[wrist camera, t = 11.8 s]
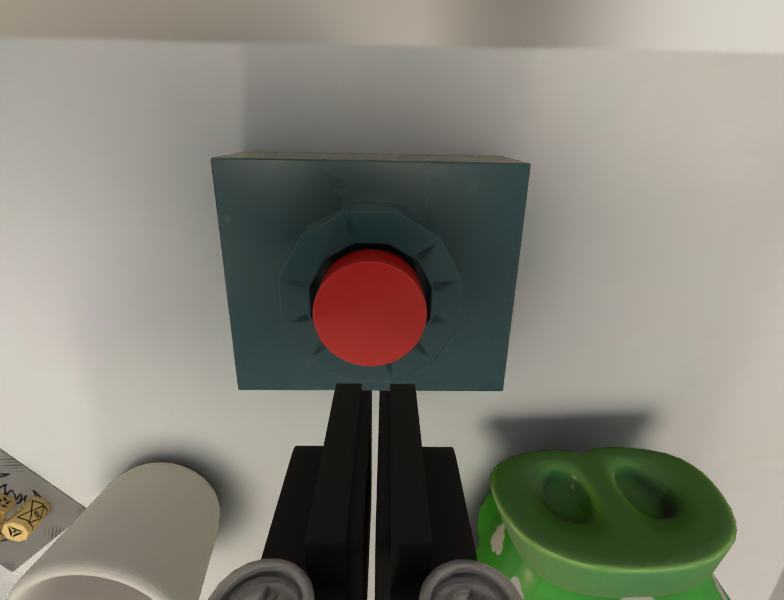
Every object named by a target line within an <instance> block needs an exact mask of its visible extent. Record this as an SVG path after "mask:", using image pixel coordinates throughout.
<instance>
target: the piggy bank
mask: <svg viewBox="0 0 784 600" xmlns="http://www.w3.org/2000/svg"><path fill="white" fill-rule="evenodd" d="M490 486H491V492H489V494H488V495H487V497H486V498H485V500H484V502H483V505H482V507H481V509H480V512H479V515H478V521H477V530H478V538H479V544H478V547H477V549H476V556H477V560H478V562H482V563H485V564H488V565H490V566H491V567H493V568H495V569H496V570H498V571H500V572H502V573H503V574H504V575H505V576H506V577H507V578H508V579H509V580H510V581H511V582H512V583H513V584H514V586H515V587H516V589H517V590H518V592H519V594H520V595H521V597H522V599H523V600H730V598H729V597H728V595H727V594H726V592H725V591H724V589H723V588H722V586H721V585H720V583H719V582H718V580H717V579H716V577H715V576H714V574H713V572H714V571H715V569H716V568H717V566H718V565H719V563H720V562H721V561H722V559H723V558H724V556H725V555H726V554H727V552H728V551H729V549H730V548H731V546H732V545H733V543H734V541H735V539H736V532H737V527H736V521H735V518H734V515H733V512H732V509H731V508H730V506H729V504H728V503H727V501H726V500H725V498H724V496H723V495H722V493H721V492H720V491H719V490H718V489H717V487H716V486H715V485H714V484H713V482H712V481H711V480H710V479H709V478H708V477H707V476H706V475H705V474H704V473H703V472H701V471H700V470H698V469H697V468H696V467H694V466H693V465H691V464H689V463H688V462H686V461H684V460H682V459H680V458H677V457H674V456H672V455H669V454H666V453H661V452H656V451H651V450H646V449H638V448H624V447H606V448H598V449H593V450H590V451H588V452H585V453H577V452H571V451H565V450H542V451H535V452H528V453H524V454H520V455H516V456H513V457H511V458H509V459H507V460H505V461H504V462H502V463H500V464H498V465H497V466H496V467H495V468H494V470H493V472H492V474H491V481H490Z"/></svg>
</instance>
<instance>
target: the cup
mask: <svg viewBox="0 0 784 600" xmlns="http://www.w3.org/2000/svg"><path fill="white" fill-rule="evenodd" d="M219 520H220V507H219V502H218V498H217V496H216V493H215V491H214V490H213V488H212V487H211V485H210V484H209V483H208V482H207V481H206V480H205V479H204V478H203V477H202V476H200V475H199V474H197V473H196V472H194V471H193V470H191V469H189V468H186V467H184V466H180V465H177V464H172V463H164V462H156V463H148V464H143V465H140V466H137V467H134V468H132V469H130V470H128V471H126V472H125V473H123V474H122V475H120V476H119V477H118V478H117V479H115V480H114V481H113V482H112V483H111V484H110V485H109V486H108V487H107V488H106V489H105V490H104V491H103V492H102V493H101V494H100V495H99V496H98V497H97V498H96V499H95V500H94V501H93V502H92V503H91V504H90V505H89V506H88V507H87V508H86V510H85V511H84V512H83V513H82V514H81V515H80V516H79V517H78V518H77V519H76V520H75V521H74V522H73V523H72V524H71V525H70V526H69V527H68V529H67V530H66V531H65V532H64V533H63V534H62V535H61V536H60V537H59V538H58V539H57V540H56V541H55V542H54V543H53V544H52V545H51V547H50V548H49V549H48V550H47V551H46V552H45V553H44V554H43V555H42V556H41V557H40V558H39V559H38V560H37V561H36V562H35V563H34V564H33V566H32V567H31V568H30V569H29V570H28V571H27V572H26V573H25V574H24V575H23V576H22V577H21V578H20V579H19V580H18V582H17V583H16V584H15V585H14V587H13V588H12V590H11V592H10V593H9V595H8V597H7V599H6V600H199V597H200V593H201V589H202V586H203V582H204V579H205V575H206V571H207V568H208V564H209V561H210V557H211V553H212V550H213V546H214V543H215V539H216V535H217V531H218V527H219Z"/></svg>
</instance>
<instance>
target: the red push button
mask: <svg viewBox="0 0 784 600" xmlns="http://www.w3.org/2000/svg"><path fill="white" fill-rule="evenodd" d="M426 320H427V307H426V302H425V298H424V293H423V289H422V286H421V283H420V280H419V278H418V276H417V274H416V272H415V271H414V269H413V268H412V267H411V266H410V265H409V264H408V263H407V262H406V261H405V260H403V259H402V258H401V257H399V256H397V255H395V254H393V253H391V252H388V251H385V250H380V249H361V250H356V251H353V252H350V253H348V254H346V255H344V256H342V257H341V258H339V259H338V260H336V261H335V262H334V263H333V264H332V265H331V266H330V267H329V268H328V270H327V271H326V273H325V275H324V277H323V279H322V281H321V284H320V286H319V289H318V291H317V294H316V297H315V300H314V305H313V322H314V326H315V329H316V332H317V334H318V336H319V338H320V339H321V341H322V342H323V344H324V345H325V346H326V347H327V348H328V349H329V350H330V351H331V352H332V353H333V354H335V355H336V356H337V357H339V358H341V359H342V360H345V361H347V362H349V363H353V364H356V365H361V366H379V365H385V364H388V363H391V362H394V361H396V360H398V359H400V358H401V357H403V356H405V355H406V354H407V353H409V352H410V351H411V350H412V349H413V348H414V347H415V345H416V344H417V343H418V341H419V340H420V338H421V336H422V334H423V332H424V329H425V326H426Z"/></svg>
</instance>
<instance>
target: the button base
mask: <svg viewBox="0 0 784 600" xmlns="http://www.w3.org/2000/svg"><path fill="white" fill-rule="evenodd" d="M211 164H212V173H213V181H214V190H215V198H216V206H217V215H218V223H219V231H220V240H221V248H222V257H223V265H224V273H225V282H226V290H227V298H228V307H229V315H230V324H231V332H232V340H233V349H234V357H235V366H236V374H237V382H238V389H239V390H335V387H336V384H337V383H362V390H390V384H415V388H416V391H503V385H504V377H505V369H506V361H507V353H508V345H509V336H510V328H511V320H512V312H513V304H514V296H515V288H516V279H517V271H518V263H519V255H520V247H521V239H522V231H523V223H524V214H525V206H526V198H527V190H528V182H529V174H530V166H531V165H530V163H526V162H523V161H519V160H515V159H511V158H507V157H503V156H456V155H400V154H345V153H289V152H239V153H234V154H229V155H223V156H218V157H213V158H211ZM361 249H380V250H385V251H388V252H391V253H393V254H395V255H397V256H399V257H401V258H402V259H403V260H405V261H406V262H407V263H408V264H409V265H410V266H411V267H412V268H413V269H414V271H415V272H416V274H417V276H418V278H419V280H420V283H421V286H422V289H423V293H424V298H425V302H426V307H427V320H426V326H425V329H424V332H423V334H422V336H421V338H420V340H419V341H418V343H417V344H416V345H415V347H414V348H413V349H412V350H411V351H410V352H409V353H407V354H406V355H405V356H403V357H401V358H400V359H398V360H396V361H394V362H391V363H388V364H385V365H379V366H361V365H356V364H353V363H349V362H347V361H345V360H342V359H341V358H339V357H337V356H336V355H335V354H333V353H332V352H331V351H330V350H329V349H328V348H327V347H326V346H325V345H324V344H323V342H322V341H321V339H320V338H319V336H318V334H317V332H316V329H315V326H314V322H313V305H314V300H315V297H316V294H317V291H318V289H319V286H320V284H321V281H322V279H323V277H324V275H325V273H326V271H327V270H328V268H329V267H330V266H331V265H332V264H333V263H334V262H335V261H336V260H338V259H339V258H341V257H342V256H344V255H346V254H348V253H350V252H353V251H356V250H361Z"/></svg>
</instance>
